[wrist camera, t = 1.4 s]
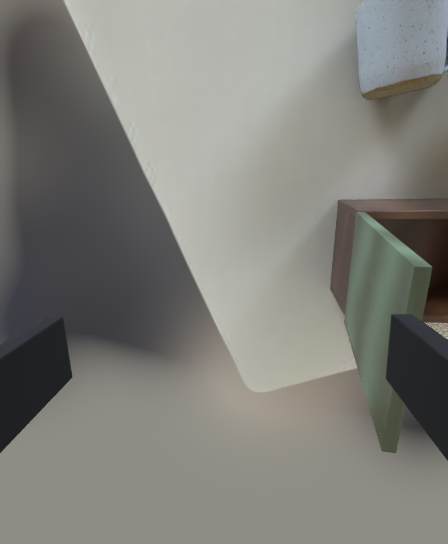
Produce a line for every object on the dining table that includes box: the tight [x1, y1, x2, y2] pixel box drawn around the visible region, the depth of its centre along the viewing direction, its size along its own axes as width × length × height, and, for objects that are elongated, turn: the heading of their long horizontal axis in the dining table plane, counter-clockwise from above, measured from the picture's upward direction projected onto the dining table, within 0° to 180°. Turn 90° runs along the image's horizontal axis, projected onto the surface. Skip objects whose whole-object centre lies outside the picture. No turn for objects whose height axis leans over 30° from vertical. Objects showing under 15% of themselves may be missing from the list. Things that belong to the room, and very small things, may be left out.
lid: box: [344, 212, 432, 453], centre depth 25 cm, size 16×12×1 cm
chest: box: [330, 199, 448, 323], centre depth 36 cm, size 16×12×9 cm
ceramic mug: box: [355, 0, 448, 100], centre depth 30 cm, size 11×8×8 cm
